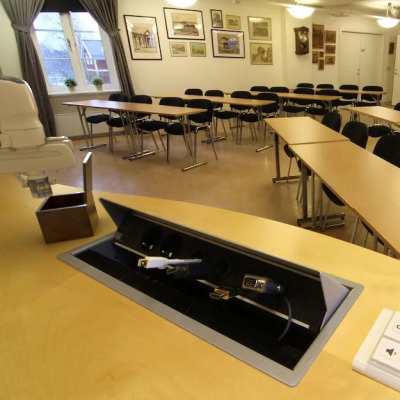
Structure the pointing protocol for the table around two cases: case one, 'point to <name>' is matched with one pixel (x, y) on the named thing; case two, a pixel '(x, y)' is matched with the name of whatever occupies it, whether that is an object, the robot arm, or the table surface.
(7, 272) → the table surface
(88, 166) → the lid
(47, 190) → the pill bottle
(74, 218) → the case
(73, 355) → the table surface
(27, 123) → the robot arm
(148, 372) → the table surface
